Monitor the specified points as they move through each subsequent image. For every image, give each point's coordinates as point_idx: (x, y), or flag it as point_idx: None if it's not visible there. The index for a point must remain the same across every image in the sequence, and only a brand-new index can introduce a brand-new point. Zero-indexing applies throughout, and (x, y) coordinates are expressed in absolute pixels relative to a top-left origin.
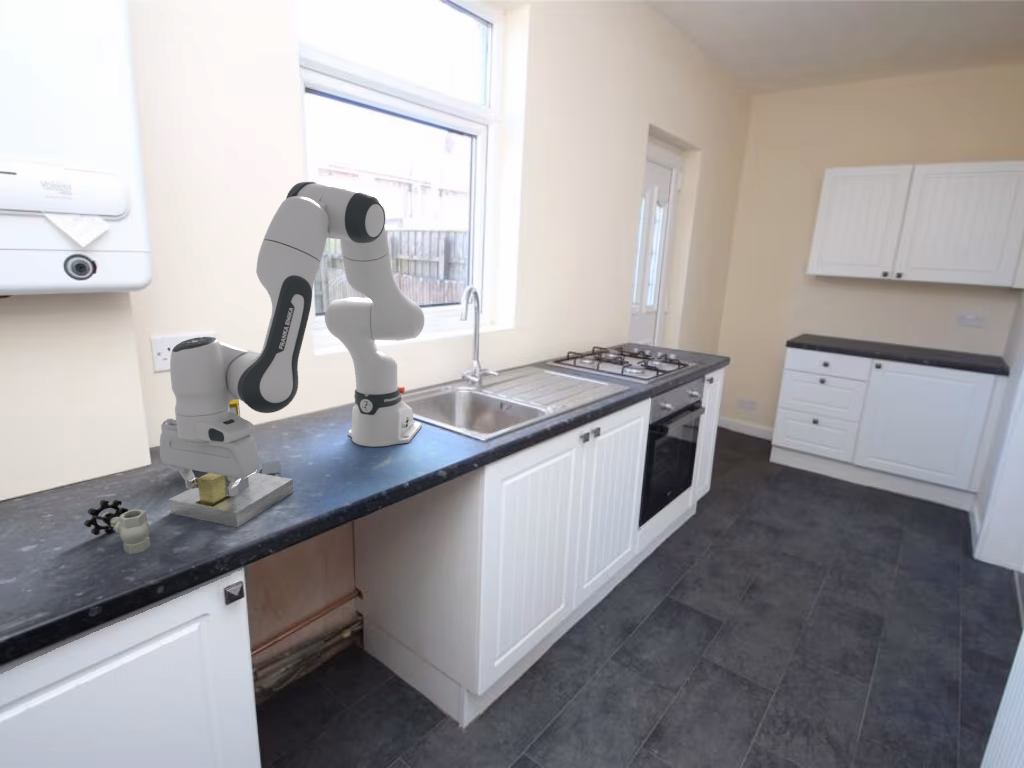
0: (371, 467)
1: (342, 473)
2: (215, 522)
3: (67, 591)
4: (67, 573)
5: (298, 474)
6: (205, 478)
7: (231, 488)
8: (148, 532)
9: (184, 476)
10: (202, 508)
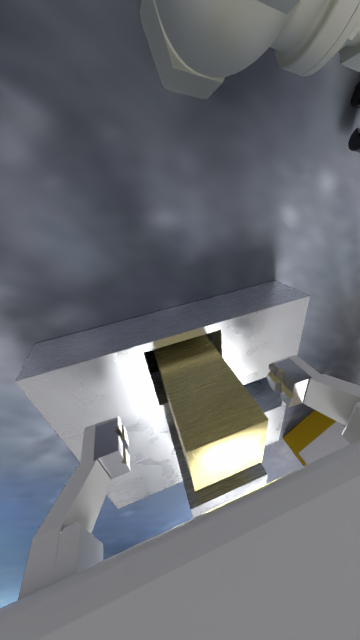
0: None
1: (112, 527)
2: (124, 320)
3: None
4: None
5: (176, 484)
6: (233, 440)
7: (76, 469)
8: (163, 14)
9: (336, 387)
10: (177, 329)
